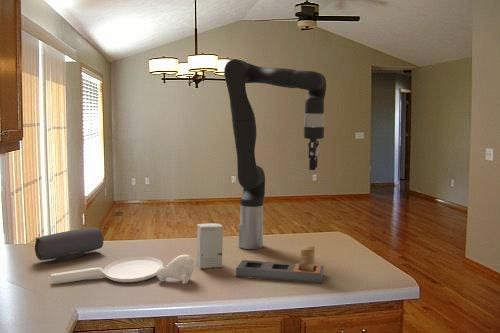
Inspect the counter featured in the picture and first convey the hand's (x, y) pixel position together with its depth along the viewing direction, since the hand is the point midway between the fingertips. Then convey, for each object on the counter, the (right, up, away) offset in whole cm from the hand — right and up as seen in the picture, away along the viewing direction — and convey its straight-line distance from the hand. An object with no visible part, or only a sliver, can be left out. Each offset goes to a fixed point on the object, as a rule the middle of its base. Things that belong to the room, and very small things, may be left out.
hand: (313, 168), depth 179 cm
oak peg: (-5, -36, -24) cm, 43 cm away
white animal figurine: (-48, -36, -28) cm, 66 cm away
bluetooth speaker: (-91, -33, -2) cm, 97 cm away
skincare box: (-38, -35, -12) cm, 53 cm away
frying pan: (-70, -36, -24) cm, 83 cm away
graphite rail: (-14, -35, -22) cm, 44 cm away
